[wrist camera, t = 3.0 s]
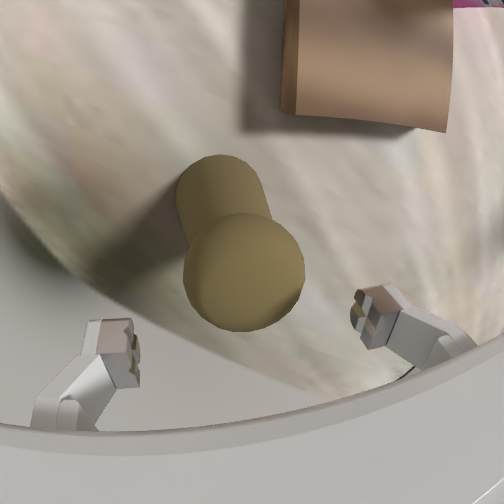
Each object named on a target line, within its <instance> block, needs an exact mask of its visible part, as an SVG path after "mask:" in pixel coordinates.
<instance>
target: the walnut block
mask: <svg viewBox="0 0 504 504" xmlns="http://www.w3.org/2000/svg"><path fill="white" fill-rule="evenodd" d="M452 63H453V1H452V0H284V12H283V49H282V79H281V105H280V110H282V111H285V112H288V113H291V114H294V115H307V116H323V117H335V118H347V119H357V120H366V121H374V122H382V123H389V124H396V125H403V126H409V127H415V128H421V129H426V130H432V131H437V132H442V133H446V128H447V120H448V112H449V103H450V92H451V80H452Z"/></svg>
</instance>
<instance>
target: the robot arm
mask: <svg viewBox="0 0 504 504" xmlns="http://www.w3.org/2000/svg"><path fill="white" fill-rule="evenodd" d="M354 299H355V301H356V303H355V304H354V305H353V306H352V307H351V311H350V320H351V323H352V326H353V328H354V329H355V330H356V331H358V332H360V333H361V337H360V339H361V340H362V342H363V343H364V345H365V346H366V348H367V349H368V350H370V349H374V348H378V347H382V346H386V347H387V348H389V349H390V350H392V351H393V352H395V353H396V354H398V355H399V356H401V357H402V358H404V359H405V360H407V361H408V362H410V363H411V364H413V365H414V366H416V367H415V368H414V369H413V370H412V371H411V372H410V373H408V374H407V375H406V376H405V377H403V378H401V379H400V380H397V381H394V382H391V383H388V384H386V385H383V386H380V387H377V388H374V389H371V390H368V391H364V392H361V393H358V394H355V395H352V396H348V397H345V398H341V399H338V400H334V401H331V402H327V403H323V404H320V405H316V406H311V407H308V408H303V409H299V410H294V411H290V412H285V413H280V414H276V415H271V416H265V417H260V418H255V419H249V420H243V421H236V422H230V423H223V424H215V425H208V426H199V427H189V428H179V429H167V430H150V431H123V432H122V431H120V432H119V431H118V432H101V431H98V429H97V428H96V427H95V425H94V424H95V423H96V421H97V420H98V418H99V416H100V415H101V414H102V412H103V410H104V409H105V407H106V406H107V404H108V403H109V401H110V400H111V398H112V397H113V395H114V393H115V392H116V389H122V388H123V389H124V388H137V387H140V371H139V368H138V364H139V363H140V348H139V342H138V338H137V336H136V335H135V334H134V325H133V322H132V319H131V318H121V319H103V320H90V321H89V322H88V324H87V328H86V332H85V336H84V341H83V345H82V350H81V355H76V356H75V357H74V359H73V360H72V361H70V363H69V364H68V365H67V366H66V367H65V368H64V369H63V370H62V371H61V372H60V373H59V374H58V375H57V376H56V377H55V378H54V379H53V380H52V381H51V382H50V383H49V384H48V385H47V386H46V387H45V388H44V390H43V391H42V392H41V393H40V394H39V395H38V396H37V397H36V400H35V405H34V410H33V415H32V420H31V425H30V427H24V426H16V425H9V424H2V423H0V504H504V333H502V334H500V335H499V336H497V337H495V338H493V339H491V340H489V341H487V342H485V343H483V344H481V345H479V346H478V345H477V344H476V343H475V342H474V341H473V340H472V338H471V337H470V336H469V335H468V334H467V333H466V331H465V330H464V329H463V328H462V327H459V326H457V325H455V324H453V323H451V322H449V321H447V320H444V319H442V318H440V317H438V316H436V315H433V314H431V313H429V312H427V311H425V310H423V309H420V308H418V307H413V306H412V305H411V304H410V303H409V302H408V300H407V299H406V298H405V297H404V296H403V295H402V294H401V293H400V291H399V290H398V289H397V288H396V287H395V286H394V285H393V284H391V283H388V284H383V285H379V286H373V287H368V288H363V289H358V290H357V291H356V293H355V296H354Z"/></svg>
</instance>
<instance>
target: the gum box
mask: <svg viewBox="0 0 504 504" xmlns="http://www.w3.org/2000/svg"><path fill="white" fill-rule="evenodd" d="M452 1H453V8H465V7H502V8H504V0H452Z"/></svg>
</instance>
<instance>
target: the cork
mask: <svg viewBox="0 0 504 504" xmlns="http://www.w3.org/2000/svg"><path fill="white" fill-rule="evenodd" d="M175 204H176V208H177V212H178V216H179V219H180V221H181V224H182V227H183V230H184V233H185V236H186V239H187V242H188V245H189V250H188V253H187V255H186V257H185V261H184V272H183V283H184V287H185V290H186V293H187V296H188V299H189V301H190V303H191V305H192V306H193V308H194V309H195V310H196V311H197V312H198V314H199V315H200V316H201V317H202V318H204V319H205V320H207V321H208V322H210V323H212V324H213V325H215V326H216V327H218V328H221V329H225V330H228V331H232V332H250V331H254V330H258V329H263V328H265V327H267V326H269V325H271V324H274V323H276V322H278V321H279V320H280V319H281V318H283V317H284V316H285V315H286V314H287V313H289V312H290V311H291V309H292V308H293V306H294V305H295V304H296V302H297V301H298V299H299V296H300V293H301V290H302V287H303V284H304V281H305V264H304V258H303V255H302V253H301V251H300V248H299V246H298V244H297V242H296V240H295V239H294V238H293V236H292V235H291V234H290V233H289V232H288V231H287V230H286V229H285V228H284V227H283V226H281V225H280V224H279V223H277V222H275V221H273V220H272V217H271V213H270V210H269V207H268V204H267V201H266V197H265V194H264V191H263V188H262V185H261V182H260V180H259V178H258V176H257V174H256V172H255V171H254V170H253V169H252V168H251V167H250V166H249V165H248V164H247V163H246V162H244V161H242V160H240V159H238V158H236V157H234V156H227V155H214V156H209V157H204V158H203V159H201V160H199V161H197V162H195V163H193V164H192V165H191V166H190V167H189V168H188V169H187V170H186V171H185V172H184V173H183V174H182V176H181V178H180V180H179V182H178V184H177V186H176V193H175Z"/></svg>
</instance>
